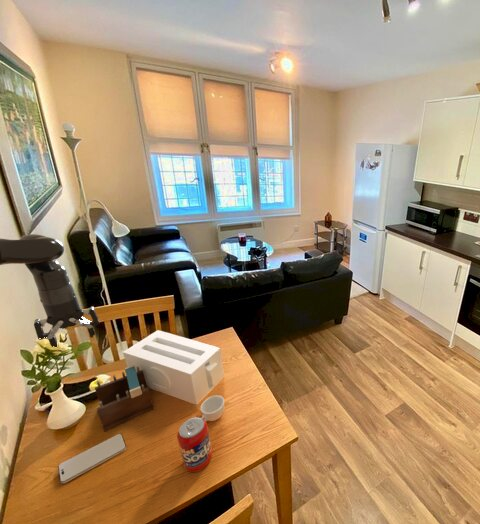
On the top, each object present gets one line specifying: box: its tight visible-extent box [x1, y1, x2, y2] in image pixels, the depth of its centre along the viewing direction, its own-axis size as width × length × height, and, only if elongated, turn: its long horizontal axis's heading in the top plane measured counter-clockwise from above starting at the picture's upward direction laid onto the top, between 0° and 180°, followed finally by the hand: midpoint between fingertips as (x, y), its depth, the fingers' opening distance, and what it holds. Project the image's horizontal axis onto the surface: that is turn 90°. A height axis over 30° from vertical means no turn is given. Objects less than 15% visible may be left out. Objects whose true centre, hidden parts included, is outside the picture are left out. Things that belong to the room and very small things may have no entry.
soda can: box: [177, 416, 213, 473], centre depth 86 cm, size 8×8×15 cm
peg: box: [124, 365, 142, 398], centre depth 102 cm, size 3×14×3 cm, turn 42°
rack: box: [94, 367, 155, 433], centre depth 102 cm, size 14×14×11 cm
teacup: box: [200, 394, 226, 422], centre depth 102 cm, size 10×8×5 cm
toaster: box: [122, 329, 225, 406], centre depth 114 cm, size 35×16×15 cm, turn 73°
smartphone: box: [57, 433, 127, 484], centre depth 87 cm, size 7×1×15 cm
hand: (74, 341), depth 94 cm, fingers open, 8 cm apart
